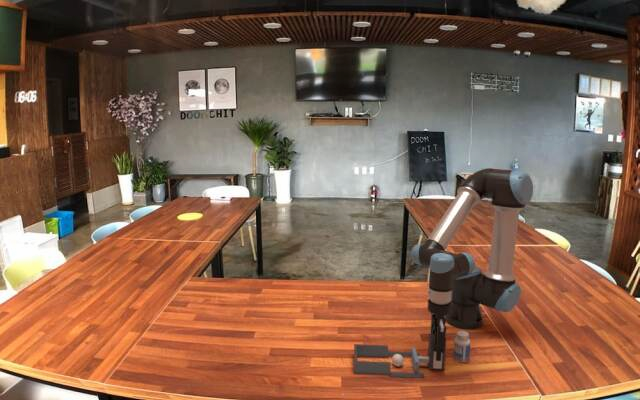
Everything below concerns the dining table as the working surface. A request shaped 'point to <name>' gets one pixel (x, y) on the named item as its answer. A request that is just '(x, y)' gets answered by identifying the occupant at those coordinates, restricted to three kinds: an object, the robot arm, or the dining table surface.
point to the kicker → (429, 359)
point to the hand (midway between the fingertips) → (435, 363)
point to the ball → (397, 360)
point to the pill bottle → (462, 347)
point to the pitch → (379, 367)
